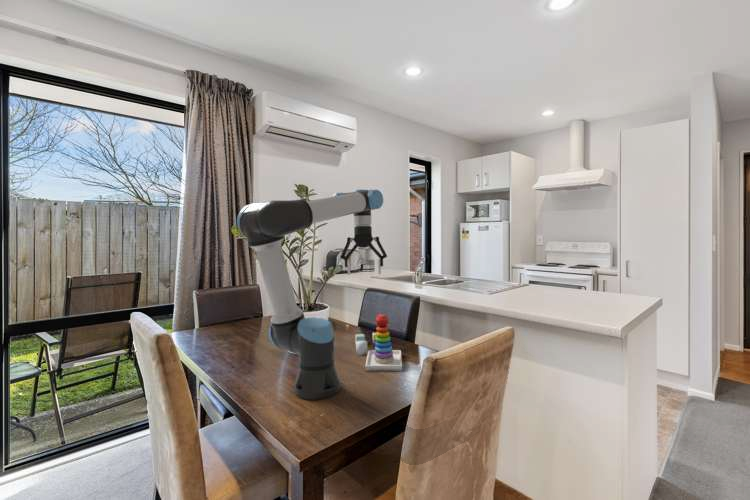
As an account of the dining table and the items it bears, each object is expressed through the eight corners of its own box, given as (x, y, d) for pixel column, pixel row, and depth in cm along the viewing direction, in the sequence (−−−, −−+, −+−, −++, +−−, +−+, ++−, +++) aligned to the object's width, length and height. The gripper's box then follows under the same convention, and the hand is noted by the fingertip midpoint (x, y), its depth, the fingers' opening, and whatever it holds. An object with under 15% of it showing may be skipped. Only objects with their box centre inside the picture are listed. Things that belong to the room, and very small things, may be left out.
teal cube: (356, 345, 167) (356, 336, 167) (355, 342, 171) (355, 334, 170) (365, 344, 168) (364, 336, 167) (363, 342, 171) (363, 333, 171)
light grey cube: (355, 355, 153) (355, 344, 152) (356, 351, 158) (356, 340, 157) (367, 355, 152) (366, 343, 152) (367, 351, 157) (367, 340, 157)
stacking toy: (394, 357, 147) (393, 312, 146) (393, 364, 139) (392, 317, 138) (375, 356, 148) (374, 312, 147) (373, 363, 140) (372, 317, 139)
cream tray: (365, 371, 135) (365, 365, 135) (368, 354, 153) (368, 350, 153) (402, 371, 134) (402, 365, 134) (400, 354, 152) (400, 350, 152)
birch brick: (373, 343, 169) (373, 335, 169) (372, 340, 173) (372, 332, 173) (385, 342, 170) (385, 334, 170) (384, 340, 174) (384, 332, 174)
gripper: (391, 225, 157) (393, 272, 158) (336, 226, 159) (337, 273, 160) (391, 224, 149) (392, 274, 150) (332, 226, 151) (334, 275, 153)
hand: (364, 274), depth 155 cm, fingers open, 13 cm apart
